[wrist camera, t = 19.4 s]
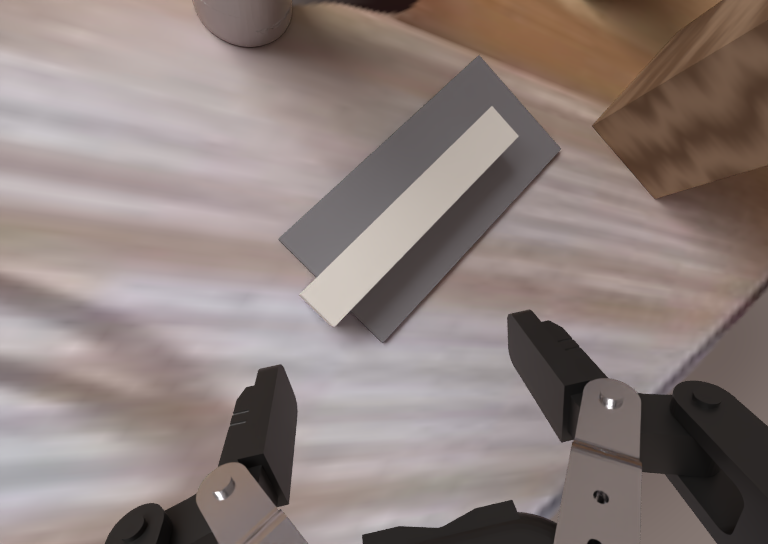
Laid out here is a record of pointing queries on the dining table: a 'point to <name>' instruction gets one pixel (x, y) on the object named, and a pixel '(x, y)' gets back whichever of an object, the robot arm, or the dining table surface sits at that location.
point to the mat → (400, 170)
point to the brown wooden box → (697, 103)
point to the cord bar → (407, 218)
